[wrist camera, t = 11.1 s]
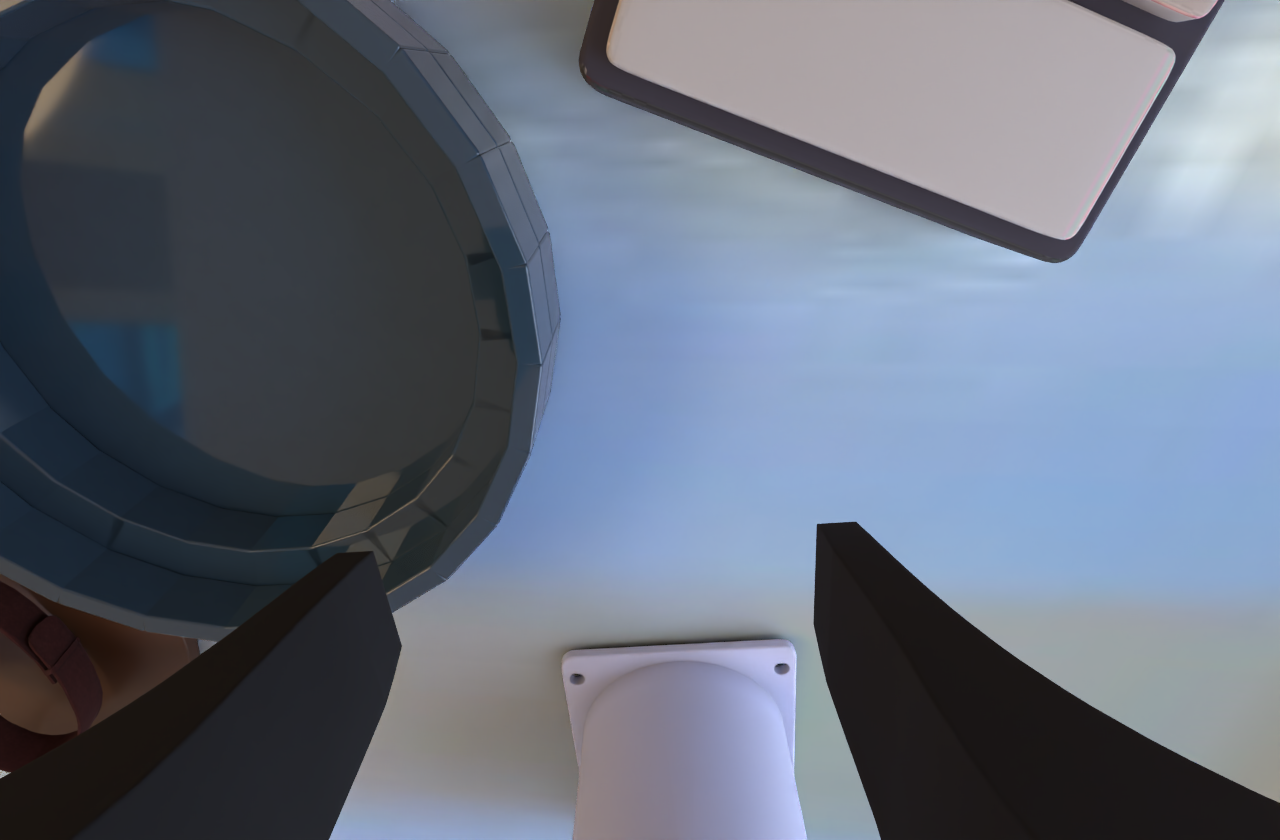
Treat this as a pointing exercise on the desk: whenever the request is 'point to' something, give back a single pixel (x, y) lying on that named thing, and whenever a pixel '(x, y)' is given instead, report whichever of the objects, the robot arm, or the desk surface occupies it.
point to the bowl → (255, 305)
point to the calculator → (916, 96)
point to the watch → (59, 662)
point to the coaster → (117, 654)
